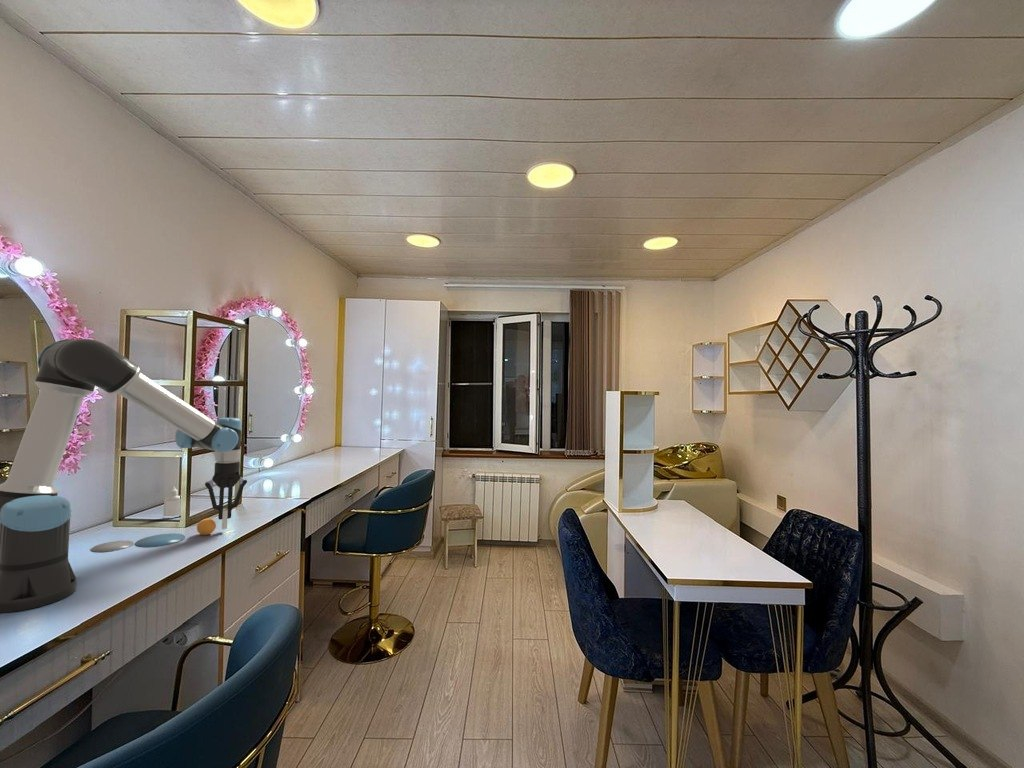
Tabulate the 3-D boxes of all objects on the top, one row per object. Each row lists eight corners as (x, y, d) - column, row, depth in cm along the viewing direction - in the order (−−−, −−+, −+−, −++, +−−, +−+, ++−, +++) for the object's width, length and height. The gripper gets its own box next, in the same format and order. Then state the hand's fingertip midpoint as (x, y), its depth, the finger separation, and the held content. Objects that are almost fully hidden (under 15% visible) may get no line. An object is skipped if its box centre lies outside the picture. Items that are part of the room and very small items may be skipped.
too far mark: (108, 553, 136) (108, 552, 136) (82, 550, 138) (82, 549, 138) (141, 542, 146) (141, 542, 146) (116, 539, 148) (116, 539, 148)
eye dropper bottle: (177, 519, 172) (179, 487, 172) (161, 519, 171) (162, 487, 171) (183, 515, 176) (185, 485, 177) (167, 516, 175) (168, 485, 175)
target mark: (158, 548, 141) (158, 548, 141) (124, 544, 144) (124, 544, 144) (194, 536, 154) (194, 535, 154) (162, 532, 156) (162, 531, 156)
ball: (206, 537, 153) (206, 521, 153) (192, 536, 154) (193, 520, 154) (219, 532, 158) (220, 517, 158) (206, 531, 159) (206, 515, 159)
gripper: (247, 458, 166) (244, 522, 166) (205, 460, 159) (202, 527, 158) (249, 461, 160) (246, 528, 159) (205, 464, 152) (201, 533, 152)
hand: (224, 527), depth 159 cm, fingers closed
